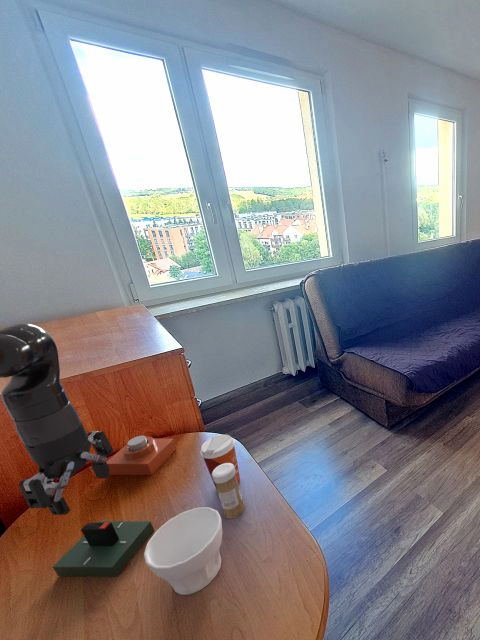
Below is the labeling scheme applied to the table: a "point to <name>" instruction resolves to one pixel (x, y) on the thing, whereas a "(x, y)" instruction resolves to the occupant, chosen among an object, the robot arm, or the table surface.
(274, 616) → the table surface
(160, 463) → the domed button plate
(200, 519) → the cup
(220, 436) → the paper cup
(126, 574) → the table surface
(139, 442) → the grey push button
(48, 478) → the robot arm
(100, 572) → the dial panel
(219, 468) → the sprinkles bottle
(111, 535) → the dial knob
